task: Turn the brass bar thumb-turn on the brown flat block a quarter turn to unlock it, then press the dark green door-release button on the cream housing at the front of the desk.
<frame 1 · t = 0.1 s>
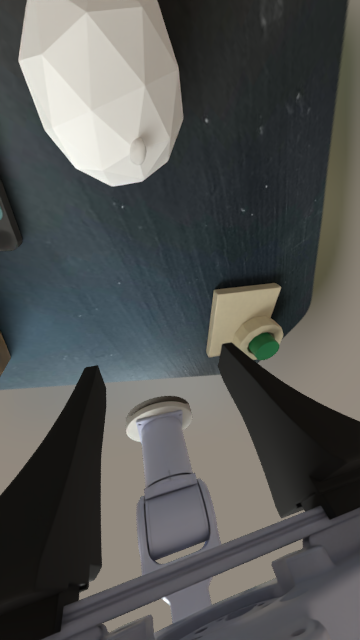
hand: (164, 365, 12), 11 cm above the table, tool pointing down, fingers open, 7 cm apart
ornament: (112, 115, 13), on the table
release button: (263, 346, 25), point 3 cm above the table, slide at 0.1 cm
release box: (237, 319, 26), on the table
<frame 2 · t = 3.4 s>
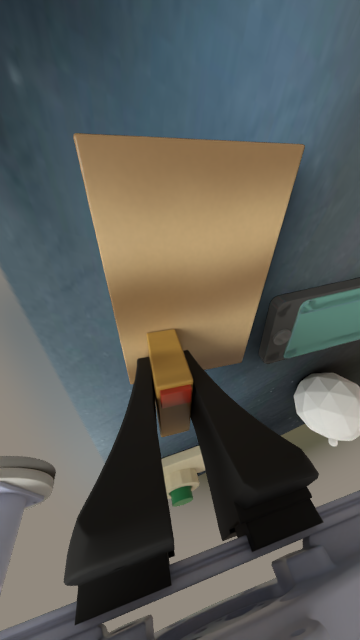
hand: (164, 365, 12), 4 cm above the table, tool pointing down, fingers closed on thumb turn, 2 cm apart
ornament: (306, 378, 26), on the table
release button: (181, 494, 30), point 3 cm above the table, slide at 0.1 cm
smartphone: (333, 313, 19), on the table
brown flat block: (179, 274, 12), on the table
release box: (185, 459, 32), on the table
thumb turn: (168, 384, 11), point 5 cm above the table, hinge at 0.1°, touching gripper
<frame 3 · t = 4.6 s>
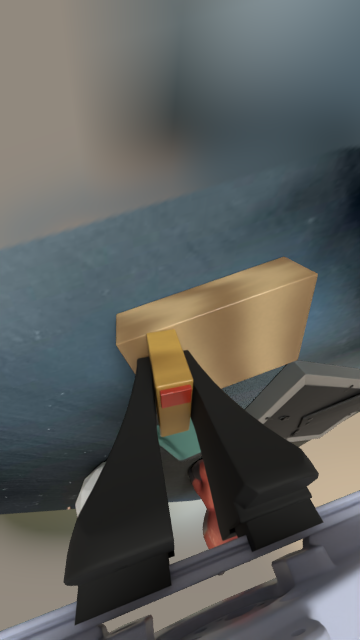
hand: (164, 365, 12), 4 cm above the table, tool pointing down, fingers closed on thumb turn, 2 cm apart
picture frame: (302, 400, 30), on the table
stuffed fox: (212, 456, 35), on the table
ornament: (111, 461, 26), on the table
smartphone: (185, 426, 25), on the table
brown flat block: (209, 327, 16), on the table
thumb turn: (168, 384, 11), point 5 cm above the table, hinge at 75.6°, touching gripper
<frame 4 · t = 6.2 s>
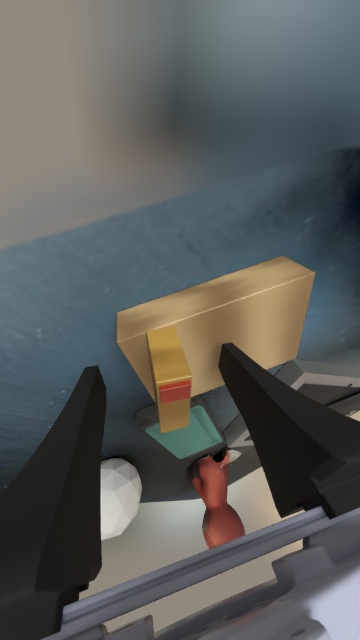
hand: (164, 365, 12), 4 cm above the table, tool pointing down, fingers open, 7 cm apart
picture frame: (302, 399, 30), on the table
stuffed fox: (212, 455, 35), on the table
ornament: (111, 459, 26), on the table
smartphone: (184, 424, 25), on the table
brown flat block: (209, 325, 16), on the table
thumb turn: (168, 380, 11), point 5 cm above the table, hinge at 75.6°
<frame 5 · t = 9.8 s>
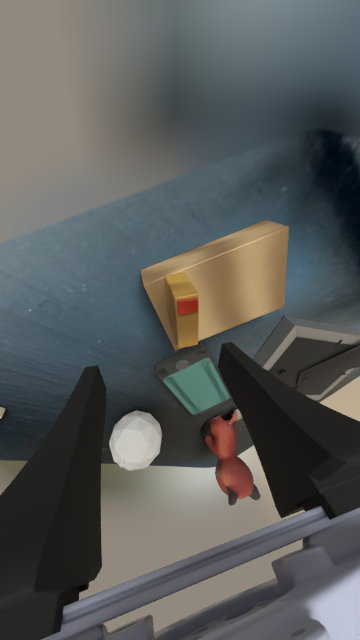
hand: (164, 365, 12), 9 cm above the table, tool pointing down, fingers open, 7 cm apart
picture frame: (300, 361, 33), on the table
stuffed fox: (222, 417, 39), on the table
ornament: (135, 414, 31), on the table
smartphone: (196, 381, 30), on the table
brown flat block: (211, 282, 20), on the table
thumb turn: (181, 311, 15), point 5 cm above the table, hinge at 75.6°
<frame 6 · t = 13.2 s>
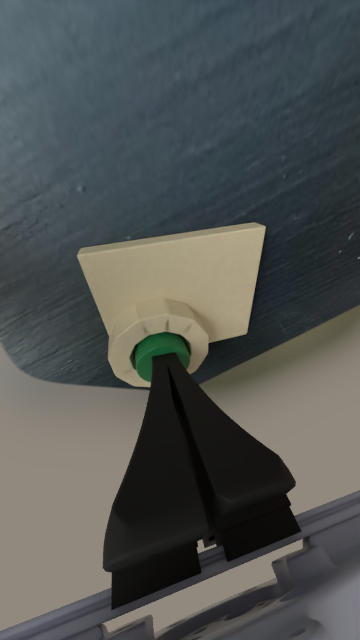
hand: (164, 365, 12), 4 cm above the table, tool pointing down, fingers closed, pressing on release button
release button: (161, 355, 12), point 3 cm above the table, slide at -0.5 cm, touching gripper
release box: (178, 295, 13), on the table
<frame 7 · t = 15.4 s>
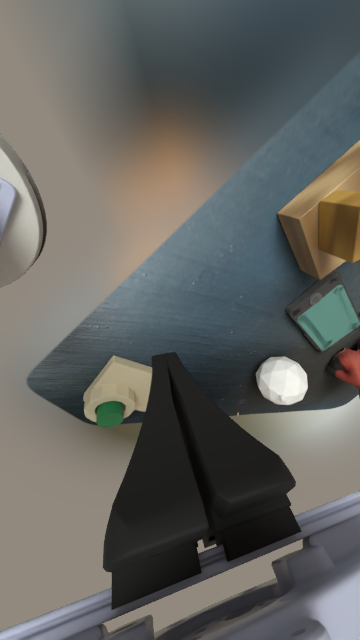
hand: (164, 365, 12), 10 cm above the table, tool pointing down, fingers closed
stuffed fox: (347, 351, 38), on the table
ornament: (266, 362, 34), on the table
release button: (110, 413, 25), point 3 cm above the table, slide at 0.1 cm
smartphone: (322, 316, 30), on the table
brown flat block: (342, 200, 19), on the table
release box: (132, 383, 28), on the table
thumb turn: (346, 227, 16), point 5 cm above the table, hinge at 75.6°
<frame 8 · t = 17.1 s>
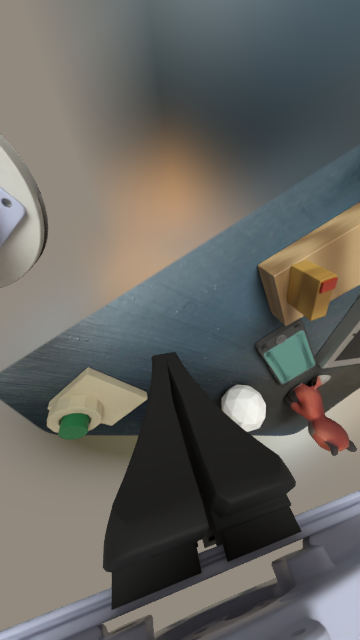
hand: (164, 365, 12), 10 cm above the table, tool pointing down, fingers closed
stuffed fox: (303, 385, 42), on the table
ornament: (233, 388, 36), on the table
release button: (74, 425, 25), point 3 cm above the table, slide at 0.1 cm
smartphone: (285, 353, 33), on the table
brown flat block: (310, 264, 23), on the table
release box: (101, 396, 28), on the table
thumb turn: (309, 291, 19), point 5 cm above the table, hinge at 75.6°
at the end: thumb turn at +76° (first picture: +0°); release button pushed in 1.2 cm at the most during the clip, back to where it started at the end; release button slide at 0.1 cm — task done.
